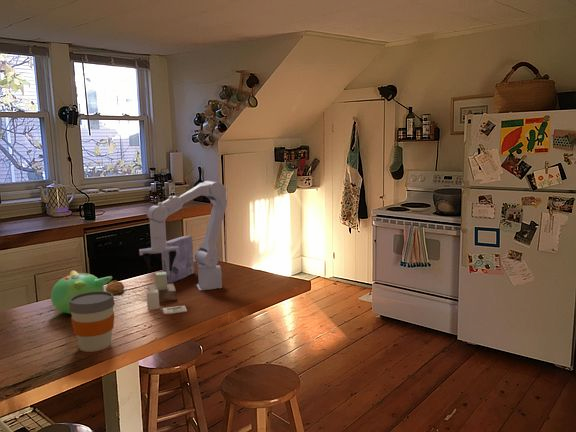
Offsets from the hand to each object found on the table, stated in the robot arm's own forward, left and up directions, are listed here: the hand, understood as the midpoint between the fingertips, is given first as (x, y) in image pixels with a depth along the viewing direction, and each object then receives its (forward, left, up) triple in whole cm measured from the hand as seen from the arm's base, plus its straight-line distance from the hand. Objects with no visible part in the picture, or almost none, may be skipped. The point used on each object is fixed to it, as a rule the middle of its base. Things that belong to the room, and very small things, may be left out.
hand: (160, 271), depth 190 cm
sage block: (0, 0, -7) cm, 7 cm away
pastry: (+17, -15, -11) cm, 25 cm away
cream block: (+4, +11, -10) cm, 16 cm away
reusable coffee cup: (+23, +39, -11) cm, 47 cm away
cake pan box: (-10, -25, -11) cm, 29 cm away
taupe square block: (0, 0, -11) cm, 11 cm away
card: (-3, +17, -10) cm, 20 cm away
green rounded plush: (+29, +6, -11) cm, 31 cm away
